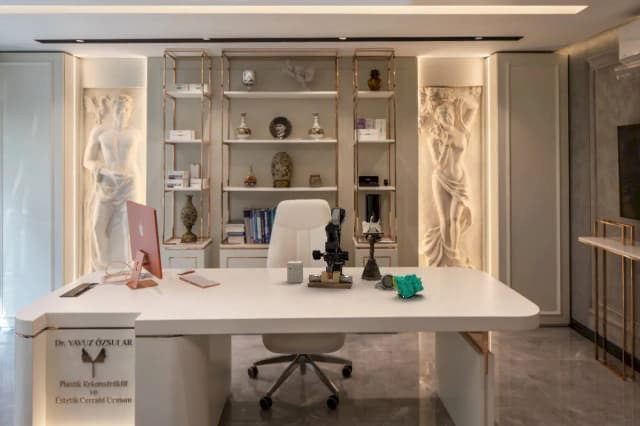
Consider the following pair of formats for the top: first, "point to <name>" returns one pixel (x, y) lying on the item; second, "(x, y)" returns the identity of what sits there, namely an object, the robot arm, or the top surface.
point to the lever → (329, 272)
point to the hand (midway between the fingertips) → (329, 269)
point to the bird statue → (372, 250)
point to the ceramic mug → (386, 281)
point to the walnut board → (330, 284)
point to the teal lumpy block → (407, 285)
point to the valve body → (336, 278)
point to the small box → (295, 271)
